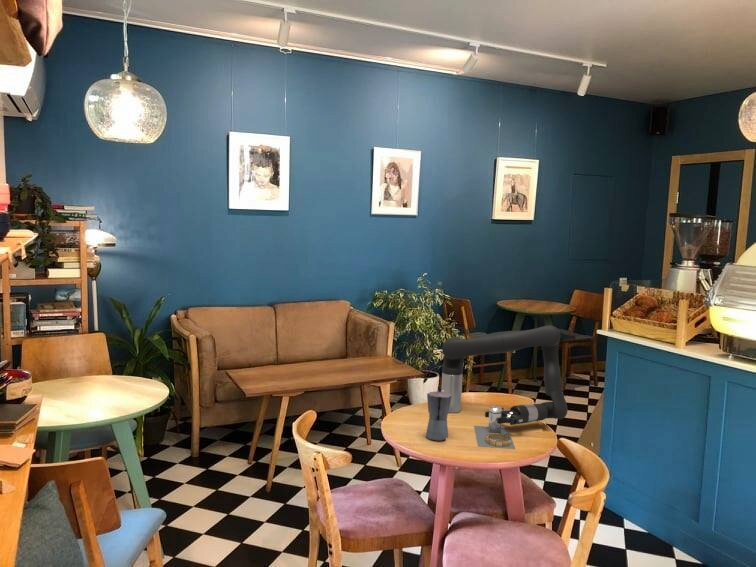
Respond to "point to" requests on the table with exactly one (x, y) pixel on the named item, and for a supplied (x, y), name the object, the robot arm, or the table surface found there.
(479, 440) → the mat
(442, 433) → the moka pot
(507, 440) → the ring collar
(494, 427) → the silver metal cylinder
